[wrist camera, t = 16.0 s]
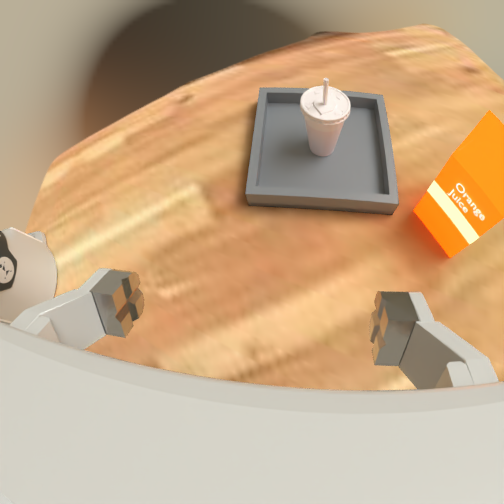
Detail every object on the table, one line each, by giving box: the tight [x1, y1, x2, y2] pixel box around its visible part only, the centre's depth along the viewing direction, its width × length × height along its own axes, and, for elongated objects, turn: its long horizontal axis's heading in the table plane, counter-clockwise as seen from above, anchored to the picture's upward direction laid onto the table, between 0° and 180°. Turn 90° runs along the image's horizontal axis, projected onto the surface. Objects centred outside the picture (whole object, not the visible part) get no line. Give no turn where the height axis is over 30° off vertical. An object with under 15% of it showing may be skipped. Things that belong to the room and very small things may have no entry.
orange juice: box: [413, 110, 504, 258], centre depth 30 cm, size 8×9×20 cm
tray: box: [245, 88, 399, 215], centre depth 44 cm, size 20×20×4 cm
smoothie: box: [300, 78, 351, 157], centre depth 38 cm, size 6×6×14 cm
